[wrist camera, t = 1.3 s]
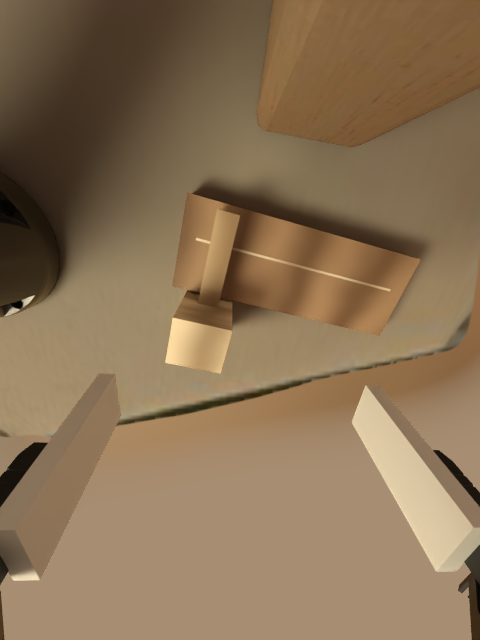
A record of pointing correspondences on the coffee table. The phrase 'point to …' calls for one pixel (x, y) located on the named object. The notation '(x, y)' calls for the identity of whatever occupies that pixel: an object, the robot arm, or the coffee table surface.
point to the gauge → (206, 307)
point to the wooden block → (364, 65)
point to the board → (295, 268)
